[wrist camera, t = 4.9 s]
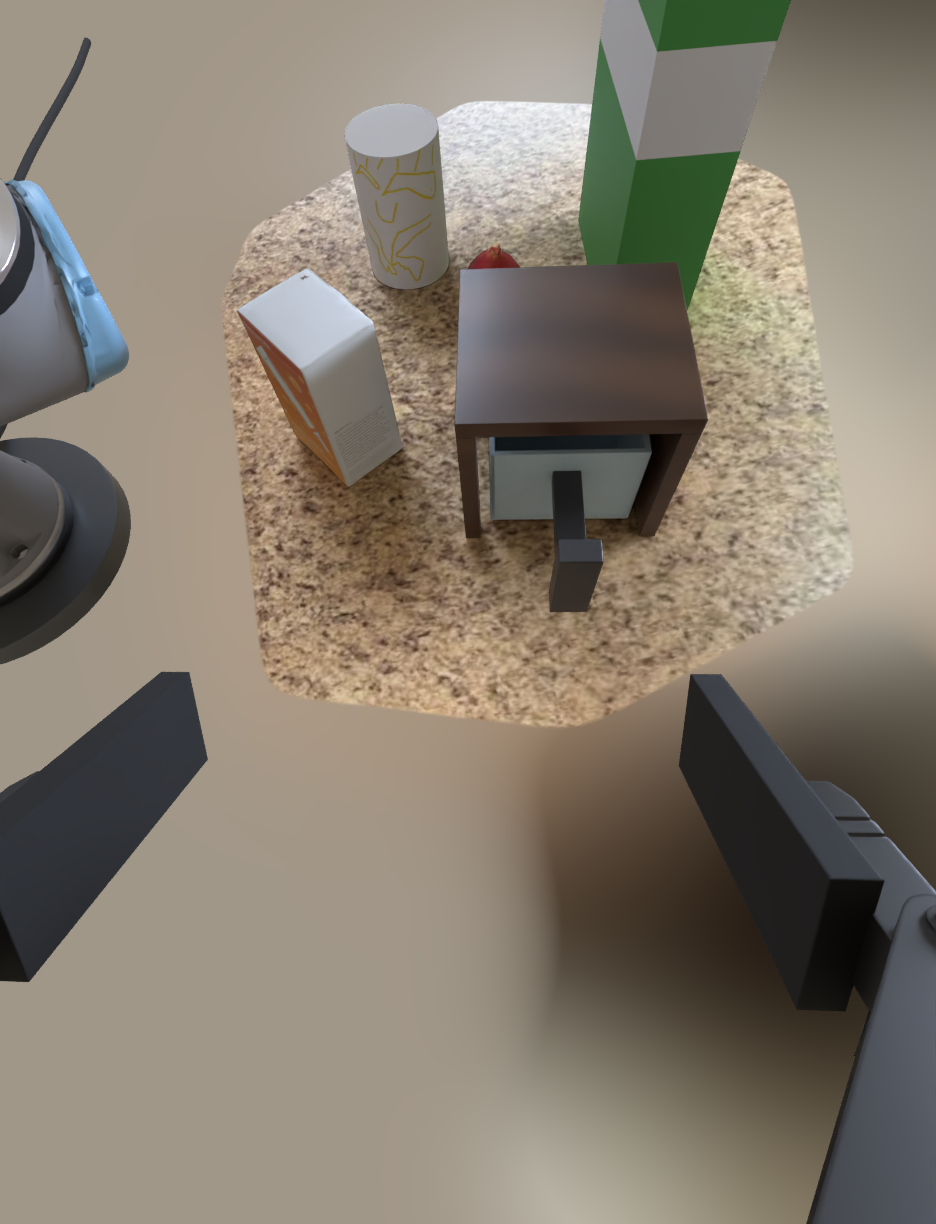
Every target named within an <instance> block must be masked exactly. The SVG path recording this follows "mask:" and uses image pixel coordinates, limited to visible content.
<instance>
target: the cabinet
mask: <svg viewBox="0 0 936 1224" xmlns="http://www.w3.org/2000/svg"><path fill="white" fill-rule="evenodd" d="M707 421H708V416H707V410H706V405H705V400H704V395H703V390H702V385H701V380H700V375H699V370H698V365H697V360H696V355H695V350H694V344H693V339H692V334H691V329H690V324H689V319H688V314H687V309H686V304H685V299H684V294H683V289H682V284H681V278H680V273H679V268H678V263H677V262H667V263H639V264H610V265H581V266H553V267H524V268H495V269H467V270H460V289H459V317H458V344H457V372H456V400H455V433H456V443H457V453H458V463H459V473H460V483H461V493H462V503H463V513H464V523H465V533H466V538H481V519H480V500H479V481H478V462H477V443H476V437H525V436H576V435H628V434H649V436H650V443H651V450H652V453H651V456H650V459H649V461H648V464H647V467H646V470H645V472H644V475H643V478H642V481H641V483H640V486H639V489H638V492H637V494H636V497H635V504H636V512H637V521H638V529H639V536H655V533H656V531H657V529H658V527H659V525H660V523H661V520H662V518H663V516H664V514H665V512H666V510H667V507H668V505H669V503H670V501H671V499H672V497H673V494H674V492H675V490H676V488H677V486H678V484H679V481H680V479H681V477H682V475H683V473H684V471H685V468H686V466H687V464H688V462H689V460H690V458H691V455H692V453H693V451H694V449H695V447H696V445H697V442H698V440H699V438H700V436H701V434H702V432H703V430H704V427H705V425H706V423H707Z"/></svg>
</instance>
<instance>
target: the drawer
mask: <svg viewBox="0 0 936 1224" xmlns="http://www.w3.org/2000/svg"><path fill="white" fill-rule="evenodd" d="M651 453H652V450H651V443H650V436H649V434H628V435H576V436H525V437H489V471H490V512H491V520H520V519H553V525H554V545H555V561H554V567H553V572H552V578H551V583H550V589H549V607H550V612H587V609H588V606H589V603H590V600H591V597H592V594H593V591H594V588H595V585H596V582H597V579H598V576H599V573H600V571H601V568H602V565H603V562H604V561H603V550H602V540H601V539H586V527H585V519H603V518H628V516H629V514H630V511H631V508H632V505H633V503H634V500H635V497H636V494H637V492H638V489H639V486H640V483H641V481H642V478H643V475H644V472H645V470H646V467H647V464H648V461H649V459H650V456H651Z"/></svg>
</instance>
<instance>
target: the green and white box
mask: <svg viewBox="0 0 936 1224" xmlns="http://www.w3.org/2000/svg"><path fill="white" fill-rule="evenodd" d="M790 1H791V0H605V3H604V12H603V19H602V29H601V36H600V45H599V53H598V61H597V69H596V78H595V86H594V94H593V103H592V111H591V120H590V128H589V136H588V145H587V153H586V161H585V170H584V178H583V186H582V195H581V203H580V211H579V220H578V221H579V226H580V231H581V236H582V240H583V245H584V250H585V255H586V260H587V264H588V265H610V264H639V263H667V262H677V263H678V268H679V273H680V278H681V284H682V289H683V294H684V299H685V304H686V309H687V310H688V307H689V304H690V301H691V298H692V295H693V292H694V289H695V286H696V283H697V280H698V277H699V274H700V271H701V268H702V265H703V262H704V259H705V256H706V253H707V250H708V247H709V244H710V241H711V238H712V235H713V232H714V229H715V226H716V223H717V220H718V217H719V214H720V211H721V208H722V205H723V202H724V199H725V196H726V193H727V190H728V187H729V184H730V181H731V178H732V175H733V172H734V169H735V166H736V163H737V160H738V157H739V154H740V151H741V148H742V145H743V142H744V139H745V136H746V133H747V130H748V127H749V124H750V121H751V118H752V115H753V112H754V109H755V106H756V103H757V100H758V97H759V94H760V91H761V88H762V85H763V82H764V79H765V76H766V73H767V70H768V67H769V64H770V61H771V58H772V55H773V52H774V49H775V46H776V43H777V40H778V37H779V34H780V31H781V28H782V25H783V22H784V19H785V16H786V13H787V10H788V7H789V4H790Z"/></svg>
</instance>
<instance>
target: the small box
mask: <svg viewBox="0 0 936 1224" xmlns="http://www.w3.org/2000/svg"><path fill="white" fill-rule="evenodd" d="M237 312H238V314H239V316H240V318H241V320H242V322H243V324H244V326H245V328H246V331H247V333H248V335H249V337H250V339H251V341H252V343H253V346H254V348H255V350H256V352H257V354H258V356H259V358H260V361H261V363H262V365H263V367H264V369H265V371H266V374H267V376H268V378H269V380H270V382H271V384H272V386H273V388H274V391H275V393H276V395H277V397H278V399H279V401H280V403H281V405H282V408H283V410H284V412H285V414H286V417H287V419H288V421H289V423H290V425H291V427H292V429H293V431H294V434H295V435H296V437H298V438H299V439H300V440H301V441H302V442H303V443H304V444H305V445H306V446H307V447H309V448H310V449H311V450H312V451H313V452H314V453H315V454H316V455H317V456H318V457H319V458H320V459H321V460H322V461H323V462H324V463H325V464H326V465H327V466H328V467H329V469H330V470H331V471H332V472H333V473H334V474H335V475H336V476H337V477H338V478H339V479H340V480H341V481H342V482H343V483H344V484H345V485H346V486H347V487H350V486H351V485H352V484H354V483H355V482H356V481H358V480H359V479H360V478H362V477H363V476H365V475H366V474H367V473H369V472H370V471H371V470H373V469H374V468H376V467H377V466H379V465H380V464H381V463H383V462H384V461H386V460H387V459H388V458H390V457H391V456H393V455H394V454H395V453H397V452H398V451H399V450H400V449H402V442H401V438H400V434H399V430H398V425H397V421H396V417H395V413H394V408H393V404H392V400H391V395H390V391H389V387H388V382H387V378H386V374H385V369H384V365H383V361H382V357H381V353H380V348H379V344H378V340H377V335H376V331H375V327H374V323H373V322H372V321H371V320H370V319H369V318H368V317H367V316H366V315H364V314H363V313H362V312H361V311H360V310H359V309H357V308H356V307H355V306H354V305H353V304H352V303H350V302H349V301H348V300H347V299H346V298H345V297H344V296H343V295H342V294H341V293H340V292H338V291H337V290H336V289H334V288H333V287H331V286H330V285H328V284H327V283H326V282H325V281H323V280H322V279H321V278H320V277H318V276H317V275H316V274H315V273H313V272H312V271H311V270H310V269H308V268H307V269H305V270H303V271H301V272H299V273H297V274H295V275H294V276H292V277H290V278H288V279H287V280H285V281H283V282H282V283H280V284H278V285H277V286H275V287H273V288H271V289H270V290H268V291H267V292H265V293H263V294H262V295H260V296H258V297H257V298H255V299H253V300H252V301H250V302H249V303H247V304H245V305H244V306H242V307H241V308H239V309H238V310H237Z"/></svg>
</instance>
